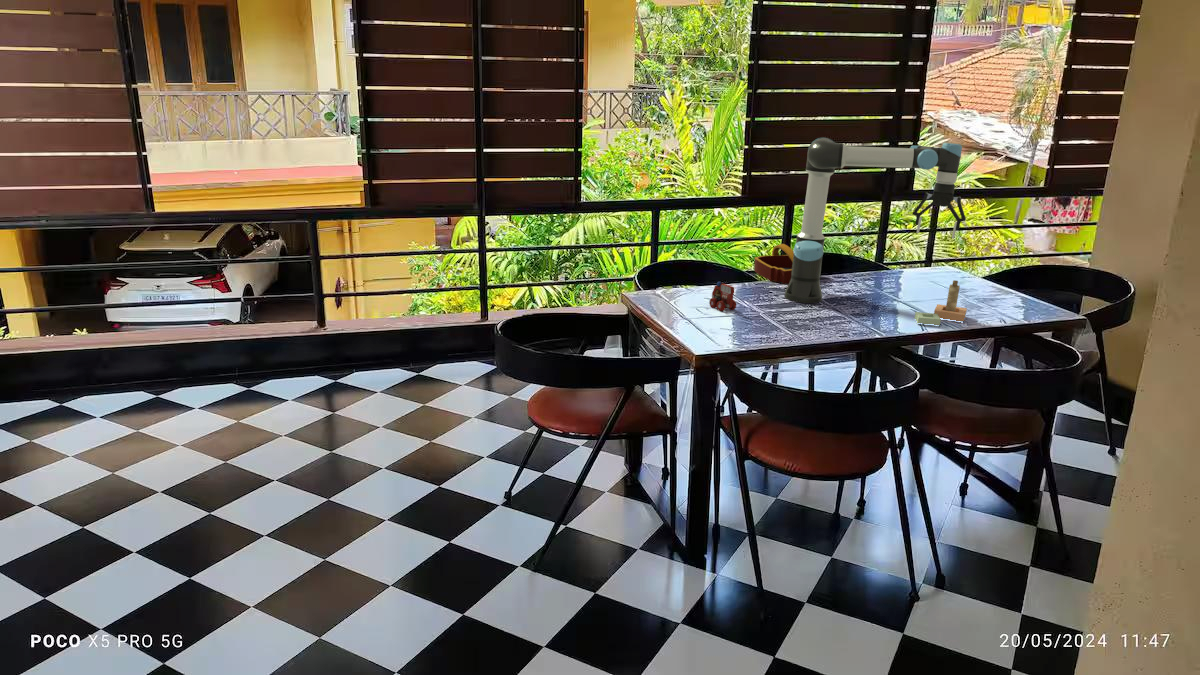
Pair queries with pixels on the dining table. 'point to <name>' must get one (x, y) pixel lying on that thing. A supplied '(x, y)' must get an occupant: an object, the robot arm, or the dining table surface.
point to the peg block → (952, 296)
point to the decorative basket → (776, 265)
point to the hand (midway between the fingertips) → (935, 235)
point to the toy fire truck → (722, 297)
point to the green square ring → (927, 318)
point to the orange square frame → (950, 313)
